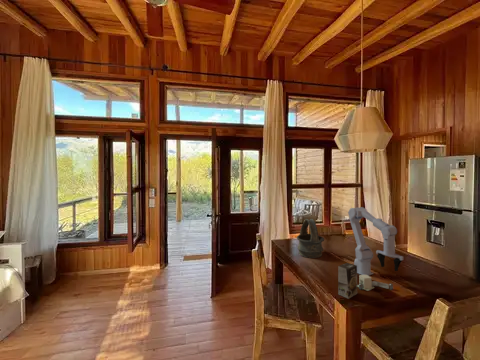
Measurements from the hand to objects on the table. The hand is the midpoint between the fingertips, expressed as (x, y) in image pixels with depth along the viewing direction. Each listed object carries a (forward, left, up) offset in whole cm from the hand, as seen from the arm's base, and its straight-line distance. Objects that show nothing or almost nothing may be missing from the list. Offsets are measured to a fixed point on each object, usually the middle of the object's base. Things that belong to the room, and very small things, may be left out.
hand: (389, 268), depth 144 cm
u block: (-7, -14, -10) cm, 18 cm away
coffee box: (-7, -30, -10) cm, 32 cm away
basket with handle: (-65, +4, -10) cm, 66 cm away
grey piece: (-2, -12, -10) cm, 15 cm away
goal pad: (-7, -14, -10) cm, 18 cm away
